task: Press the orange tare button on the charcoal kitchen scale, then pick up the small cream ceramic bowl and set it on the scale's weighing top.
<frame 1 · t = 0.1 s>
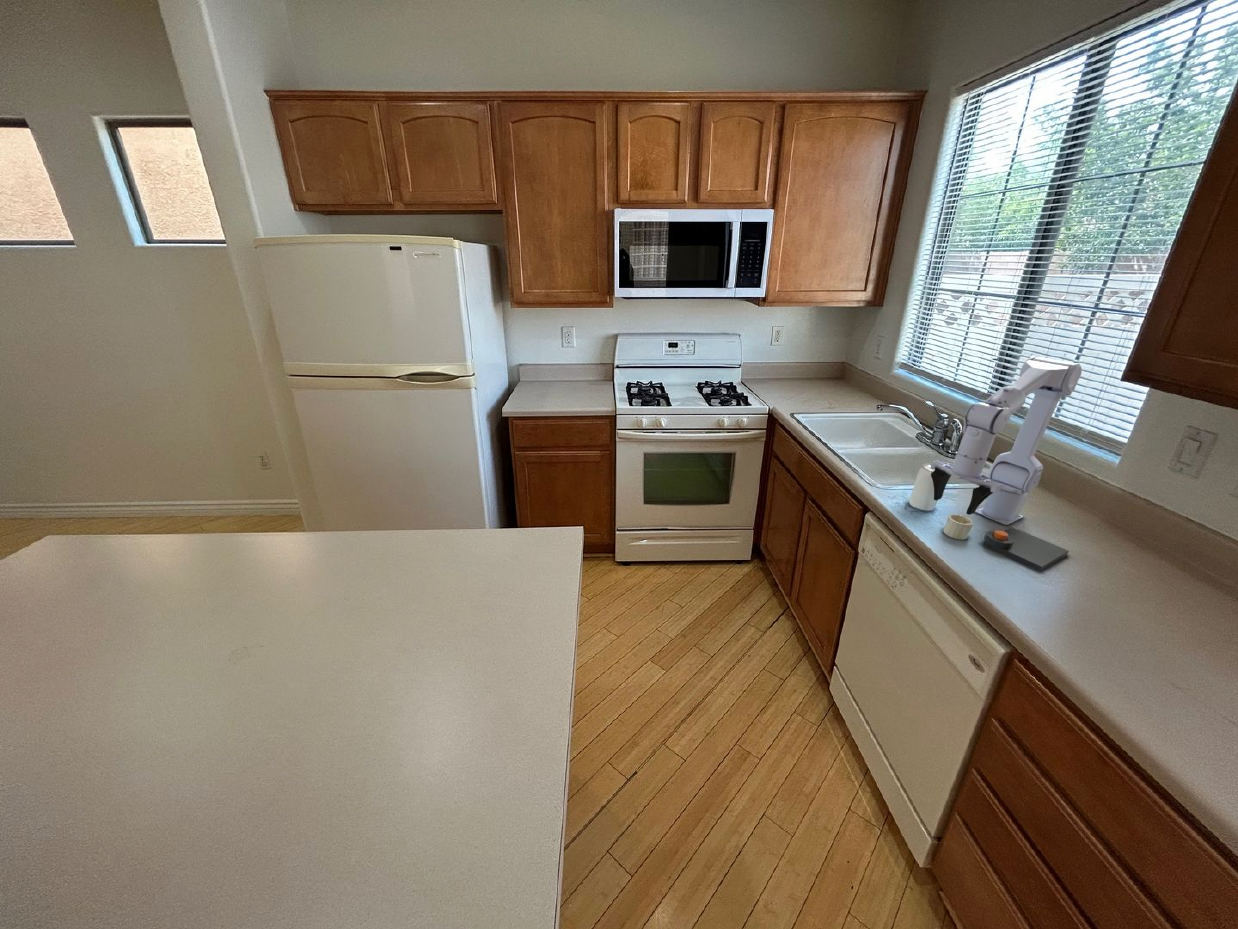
hand: (953, 506, 115), 10 cm above the counter, tool pointing down, fingers open, 7 cm apart
can: (921, 506, 136), on the counter
tare button: (1000, 535, 116), point 3 cm above the counter, slide at 0.1 cm
scale: (1024, 550, 116), on the counter
bowl: (955, 534, 122), on the counter
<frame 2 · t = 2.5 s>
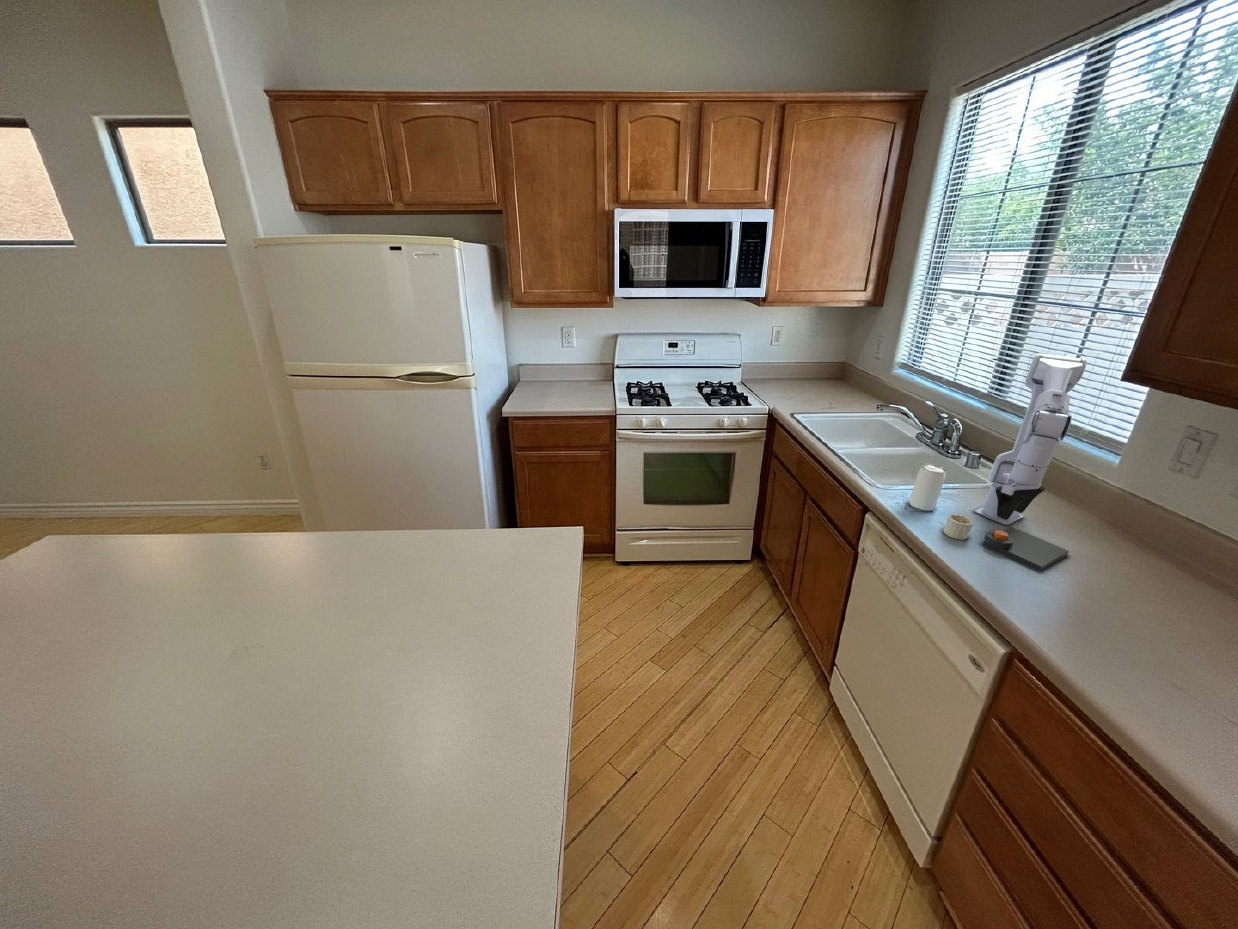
hand: (1009, 514, 113), 9 cm above the counter, tool pointing down, fingers open, 6 cm apart
nothing on the counter moved.
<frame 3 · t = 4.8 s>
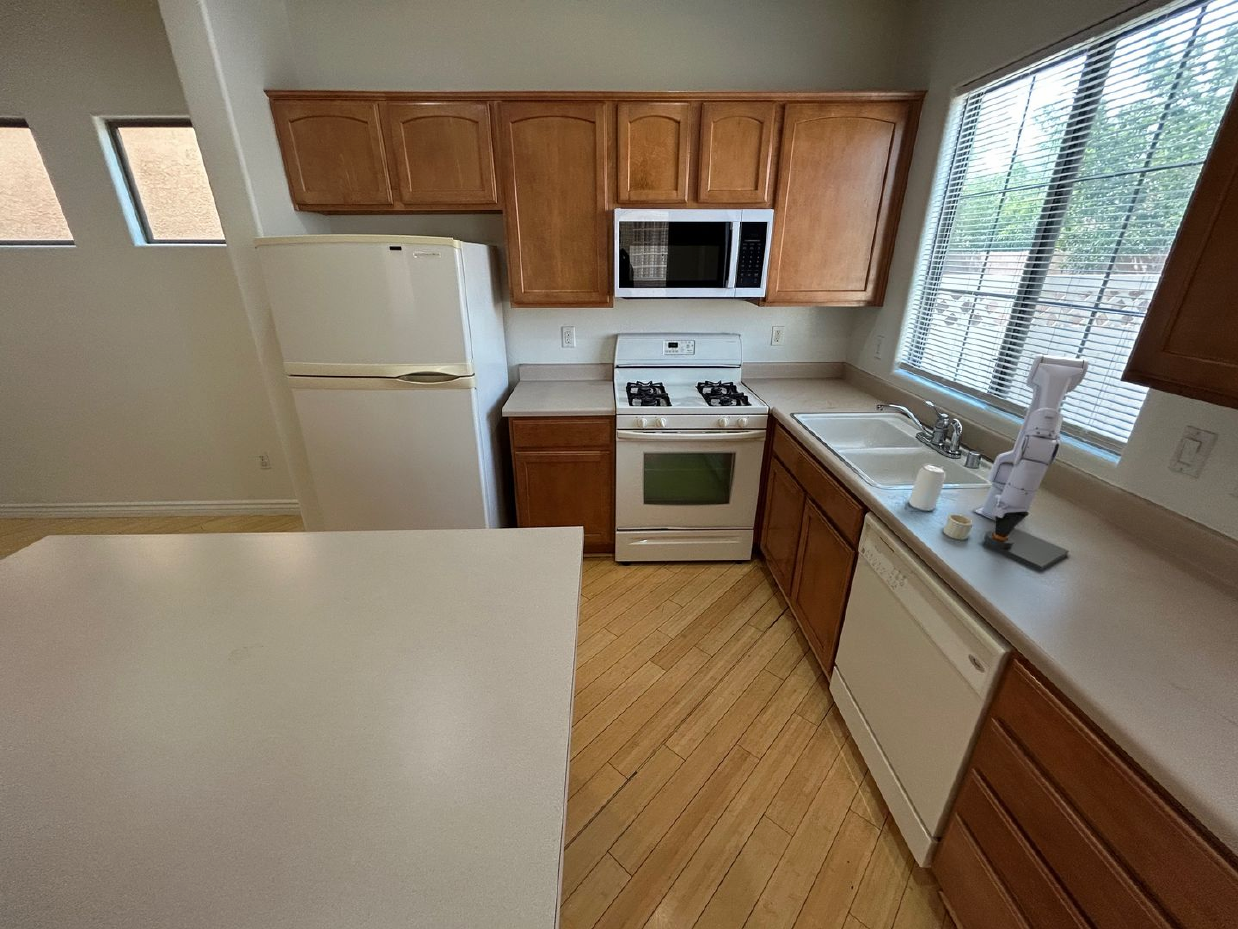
hand: (1000, 535, 116), 4 cm above the counter, tool pointing down, fingers closed, pressing on tare button
tare button: (999, 537, 116), point 3 cm above the counter, slide at -0.5 cm, touching gripper
everything else where it was.
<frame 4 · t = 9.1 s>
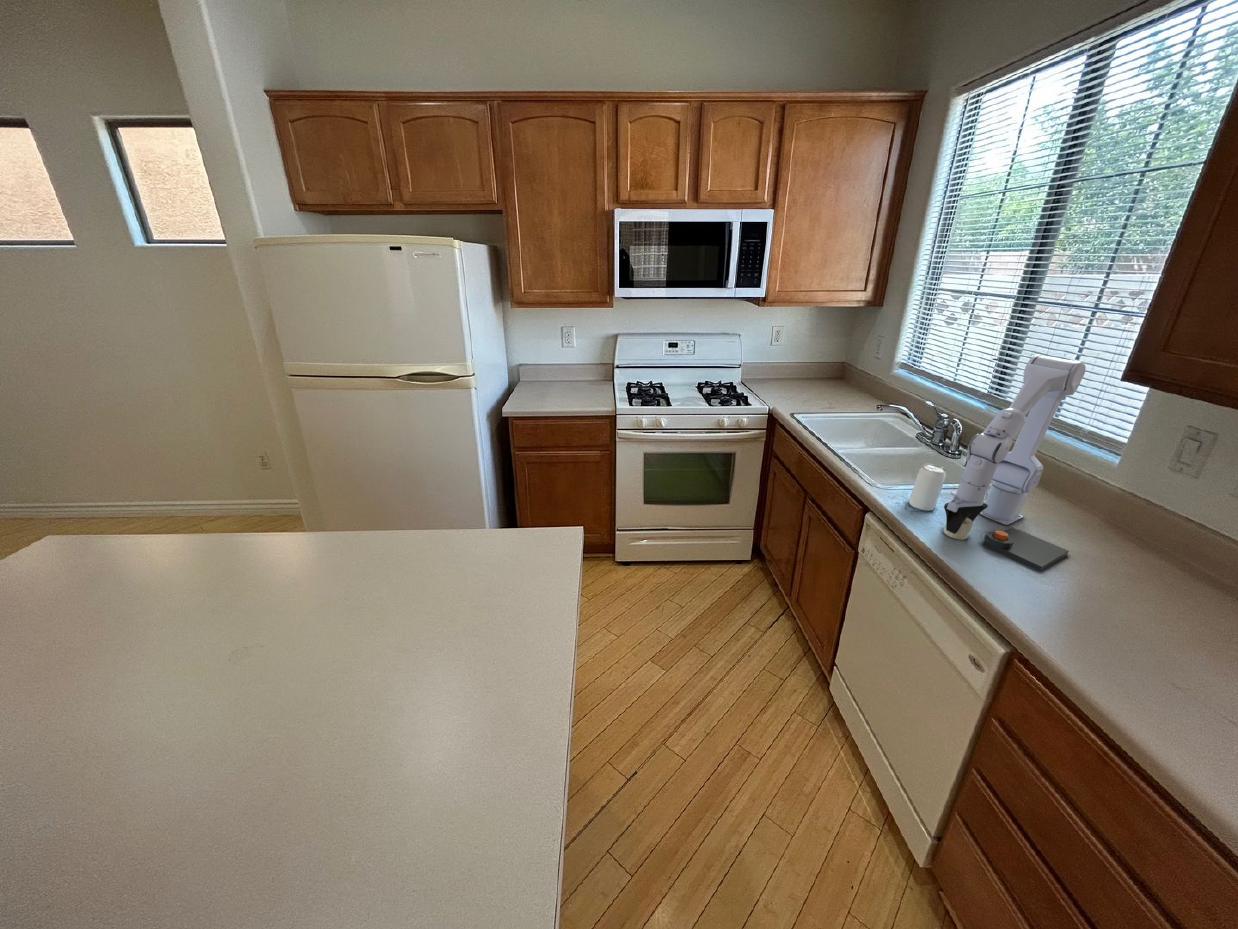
hand: (957, 528, 122), 2 cm above the counter, tool pointing down, fingers closed on bowl, 5 cm apart
tare button: (1000, 535, 116), point 3 cm above the counter, slide at 0.1 cm
bowl: (955, 534, 122), on the counter, touching gripper
everything else where it was.
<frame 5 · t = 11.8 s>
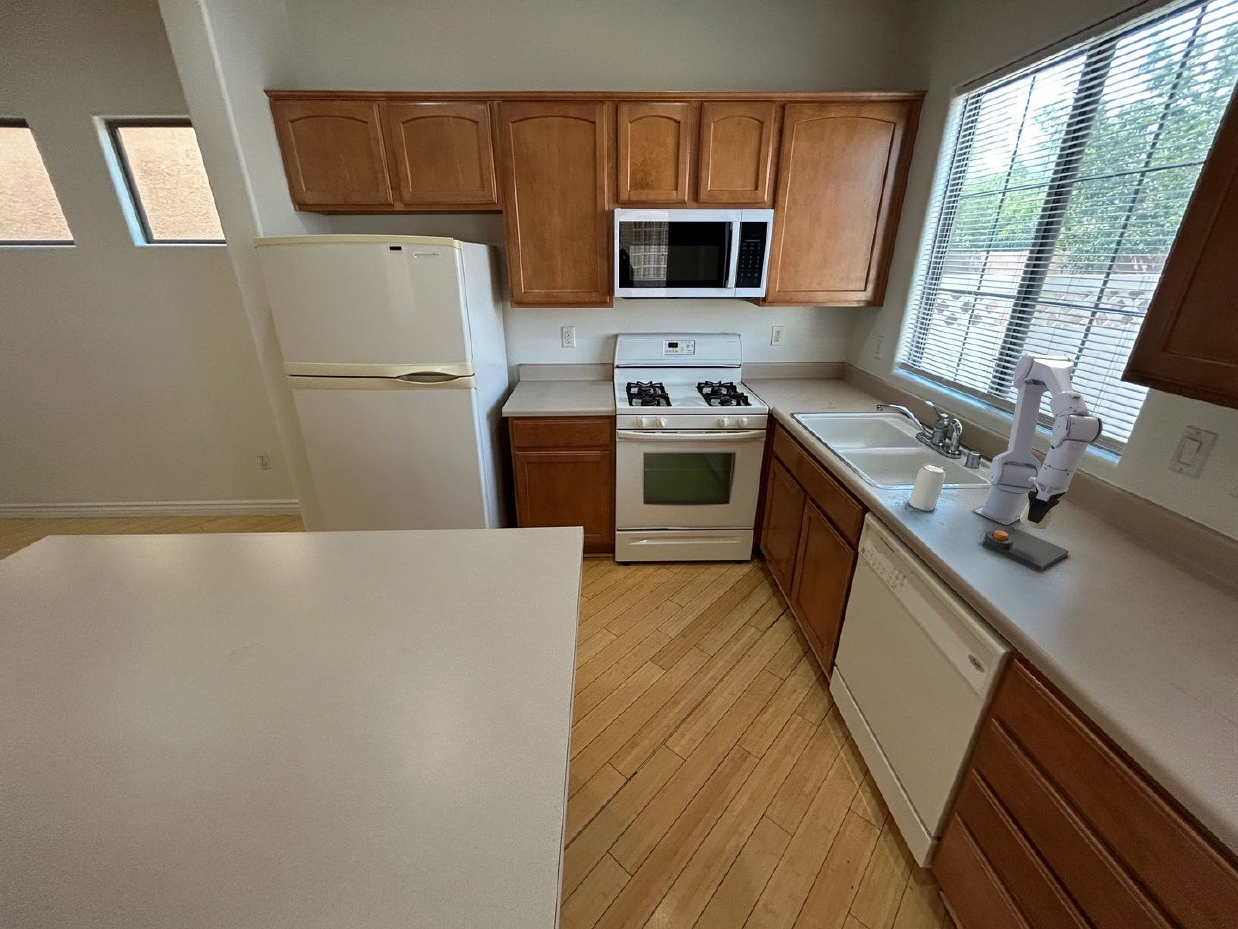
hand: (1035, 517, 114), 9 cm above the counter, tool pointing down, fingers closed on bowl, 5 cm apart
bowl: (1033, 523, 114), point 7 cm above the counter, touching gripper
everything else where it was.
when the fingers open (3 cm above the counter, at t = 14.4 s): bowl stays where it is, resting on scale.
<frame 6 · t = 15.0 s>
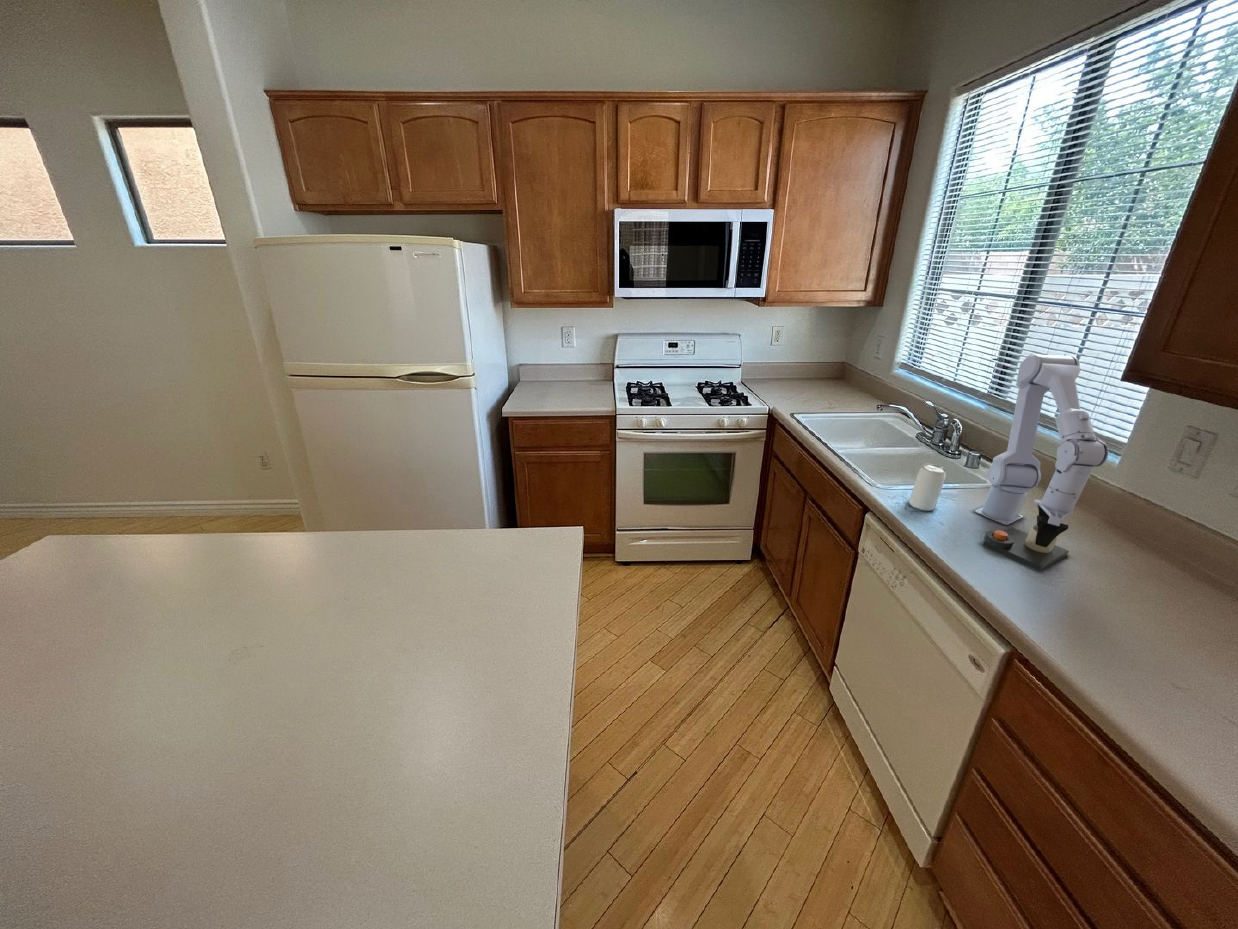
hand: (1040, 538, 115), 4 cm above the counter, tool pointing down, fingers open, 7 cm apart
bowl: (1037, 546, 116), point 1 cm above the counter, touching scale
everything else where it was.
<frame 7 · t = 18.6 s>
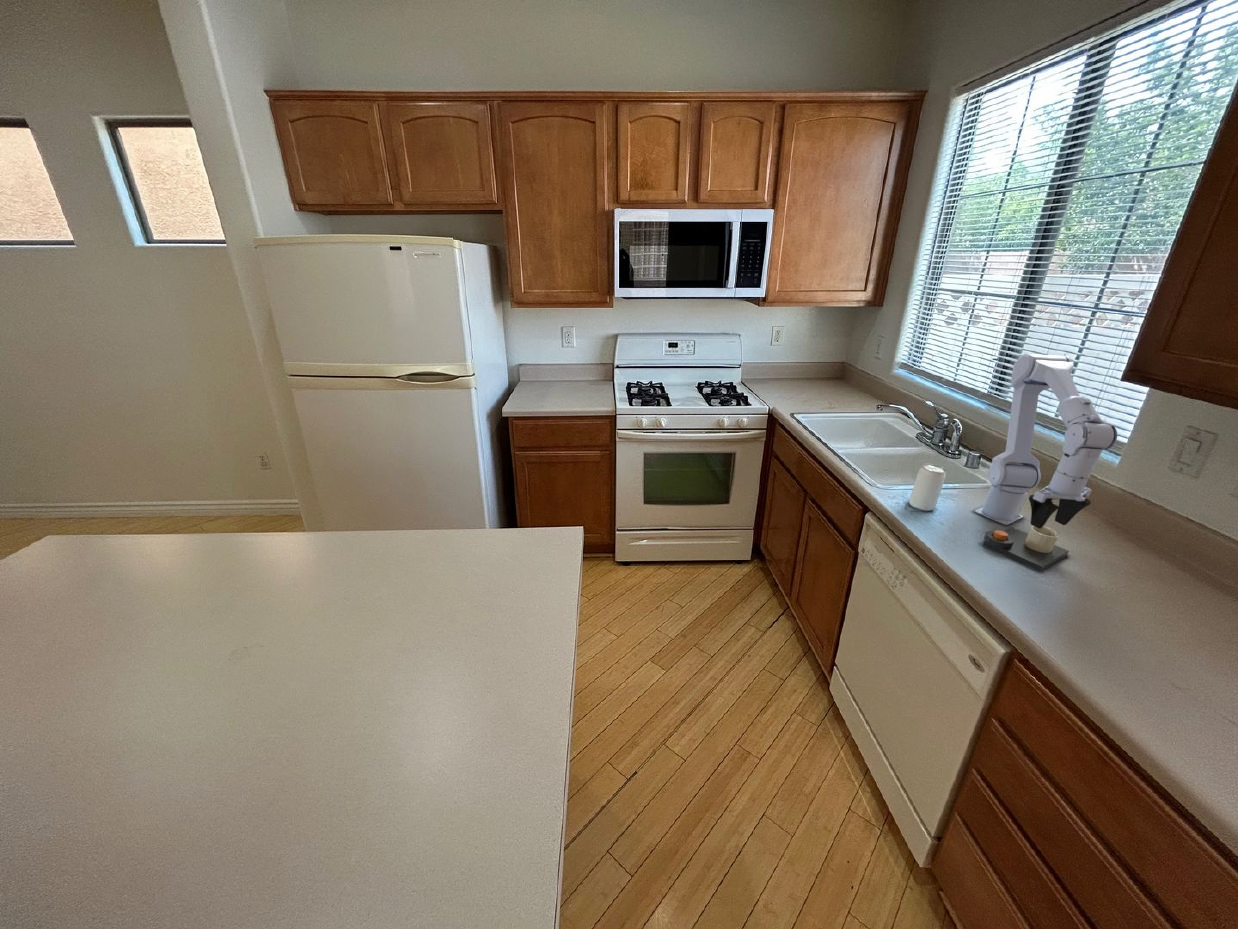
hand: (1048, 524, 113), 8 cm above the counter, tool pointing down, fingers open, 7 cm apart
nothing on the counter moved.
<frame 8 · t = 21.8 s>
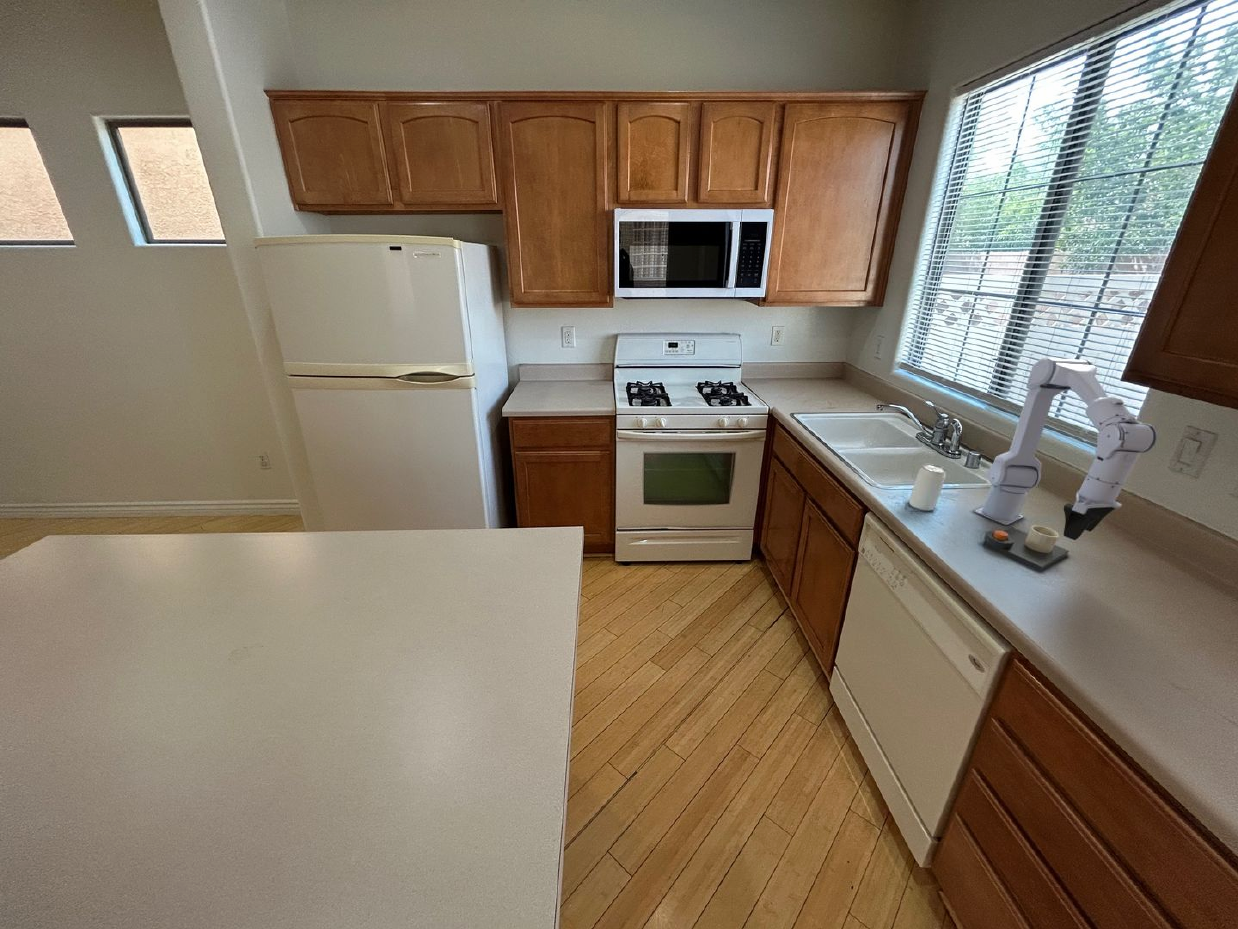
hand: (1077, 533, 105), 10 cm above the counter, tool pointing down, fingers open, 7 cm apart
nothing on the counter moved.
at the end: tare button pushed in 0.9 cm at the most during the clip, back to where it started at the end; bowl inside the target area on the scale (2.6 cm from its centre), point 1.4 cm above the scale's base; bowl tilted 0° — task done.
